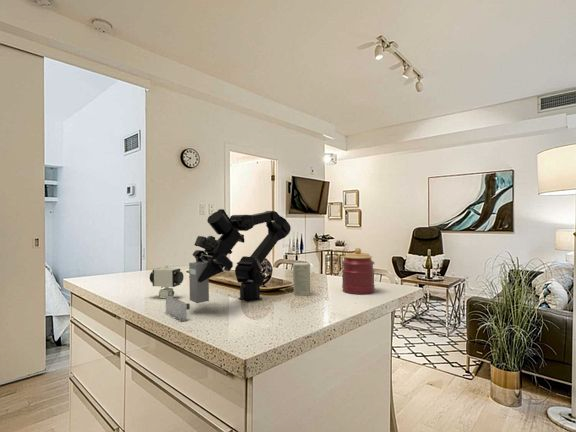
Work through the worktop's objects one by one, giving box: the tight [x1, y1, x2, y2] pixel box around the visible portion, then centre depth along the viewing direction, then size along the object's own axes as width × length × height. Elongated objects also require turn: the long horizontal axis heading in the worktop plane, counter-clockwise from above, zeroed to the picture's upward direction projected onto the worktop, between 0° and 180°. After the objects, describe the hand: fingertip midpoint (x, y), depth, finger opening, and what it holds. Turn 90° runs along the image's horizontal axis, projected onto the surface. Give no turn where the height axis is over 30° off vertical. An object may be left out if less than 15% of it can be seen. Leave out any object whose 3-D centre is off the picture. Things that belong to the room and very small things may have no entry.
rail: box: [165, 296, 191, 322], centre depth 101 cm, size 3×13×5 cm, turn 39°
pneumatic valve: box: [149, 265, 185, 300], centre depth 126 cm, size 6×12×12 cm, turn 78°
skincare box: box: [292, 262, 311, 296], centre depth 130 cm, size 6×4×12 cm
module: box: [188, 261, 210, 304], centre depth 106 cm, size 4×6×12 cm
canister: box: [341, 247, 376, 295], centre depth 134 cm, size 13×13×18 cm
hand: (194, 280), depth 105 cm, fingers closed on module, 5 cm apart
